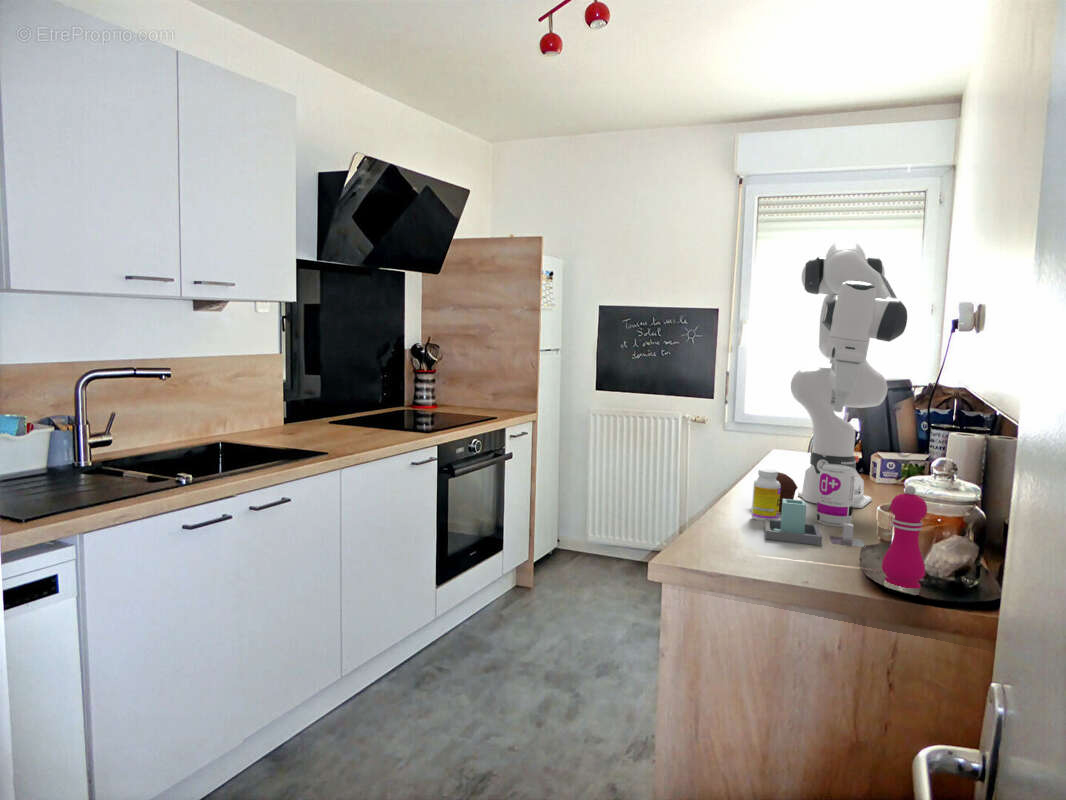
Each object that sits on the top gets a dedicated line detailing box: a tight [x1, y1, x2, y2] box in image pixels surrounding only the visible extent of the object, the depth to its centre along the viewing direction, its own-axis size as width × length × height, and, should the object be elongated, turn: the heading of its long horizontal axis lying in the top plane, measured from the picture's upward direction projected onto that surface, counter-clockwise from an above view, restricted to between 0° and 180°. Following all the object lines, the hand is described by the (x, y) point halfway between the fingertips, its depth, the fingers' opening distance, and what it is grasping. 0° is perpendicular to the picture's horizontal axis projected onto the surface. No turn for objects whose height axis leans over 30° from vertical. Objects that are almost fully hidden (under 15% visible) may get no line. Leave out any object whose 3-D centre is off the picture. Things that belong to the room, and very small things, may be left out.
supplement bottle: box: [751, 468, 781, 522], centre depth 188 cm, size 7×7×13 cm
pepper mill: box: [881, 485, 928, 589], centre depth 136 cm, size 7×7×20 cm
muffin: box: [757, 471, 798, 512], centre depth 201 cm, size 12×11×10 cm
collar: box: [774, 499, 807, 534], centre depth 171 cm, size 5×6×8 cm
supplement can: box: [815, 464, 855, 528], centre depth 186 cm, size 8×8×15 cm
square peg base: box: [829, 523, 865, 548], centre depth 169 cm, size 7×7×4 cm
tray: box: [764, 519, 823, 547], centre depth 171 cm, size 12×12×2 cm
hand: (835, 408), depth 174 cm, fingers open, 8 cm apart
